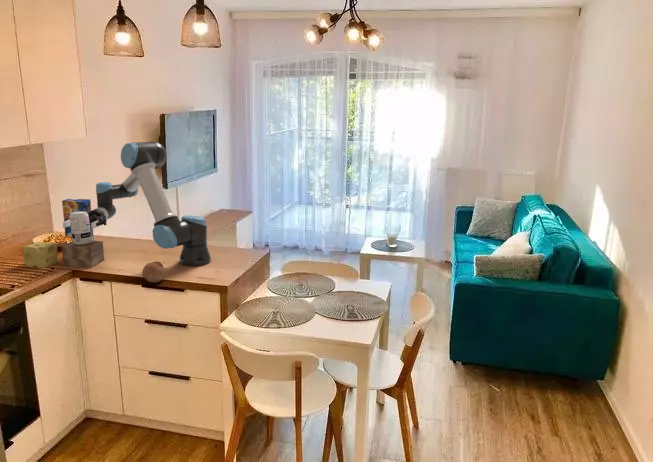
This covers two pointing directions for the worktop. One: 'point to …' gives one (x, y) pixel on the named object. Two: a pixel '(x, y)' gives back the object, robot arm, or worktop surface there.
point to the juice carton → (75, 206)
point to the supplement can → (80, 228)
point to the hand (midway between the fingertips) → (77, 225)
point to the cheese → (40, 254)
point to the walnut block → (83, 254)
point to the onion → (153, 272)
